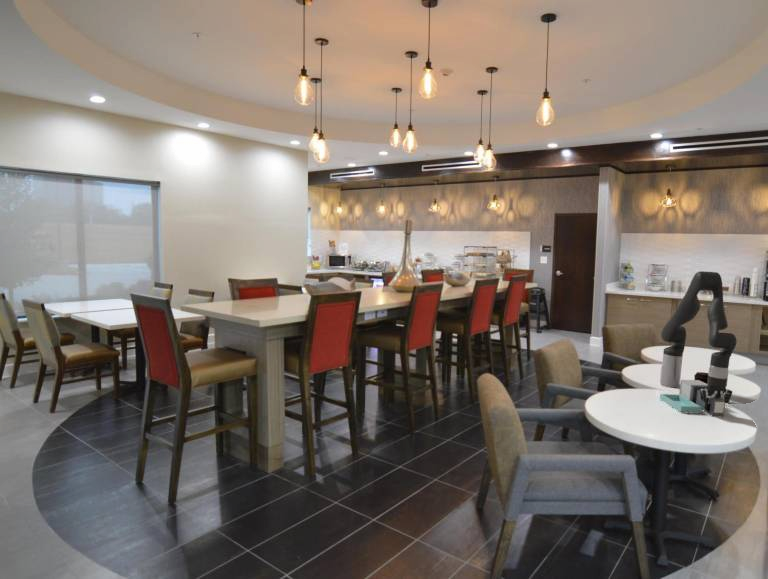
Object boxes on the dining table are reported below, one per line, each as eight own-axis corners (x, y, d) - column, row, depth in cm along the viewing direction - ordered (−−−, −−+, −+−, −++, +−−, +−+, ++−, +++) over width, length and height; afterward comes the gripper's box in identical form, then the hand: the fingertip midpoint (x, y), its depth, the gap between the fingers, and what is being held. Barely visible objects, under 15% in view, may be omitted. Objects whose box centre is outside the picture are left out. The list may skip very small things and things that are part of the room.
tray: (659, 399, 254) (660, 393, 253) (678, 400, 254) (679, 394, 253) (680, 412, 236) (681, 406, 235) (700, 413, 236) (701, 406, 235)
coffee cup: (710, 402, 253) (713, 376, 251) (691, 398, 258) (693, 373, 256) (712, 398, 260) (714, 373, 258) (693, 394, 265) (695, 370, 263)
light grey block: (678, 399, 255) (680, 379, 254) (697, 400, 255) (699, 380, 254) (688, 405, 247) (691, 384, 246) (707, 406, 247) (710, 385, 246)
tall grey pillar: (695, 406, 245) (697, 390, 244) (705, 406, 245) (707, 390, 244) (712, 416, 232) (714, 399, 231) (723, 417, 232) (725, 400, 231)
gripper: (728, 373, 237) (723, 408, 239) (697, 372, 237) (693, 407, 239) (739, 378, 229) (734, 414, 232) (707, 377, 229) (702, 413, 232)
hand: (713, 410), depth 235 cm, fingers closed on tall grey pillar, 5 cm apart
